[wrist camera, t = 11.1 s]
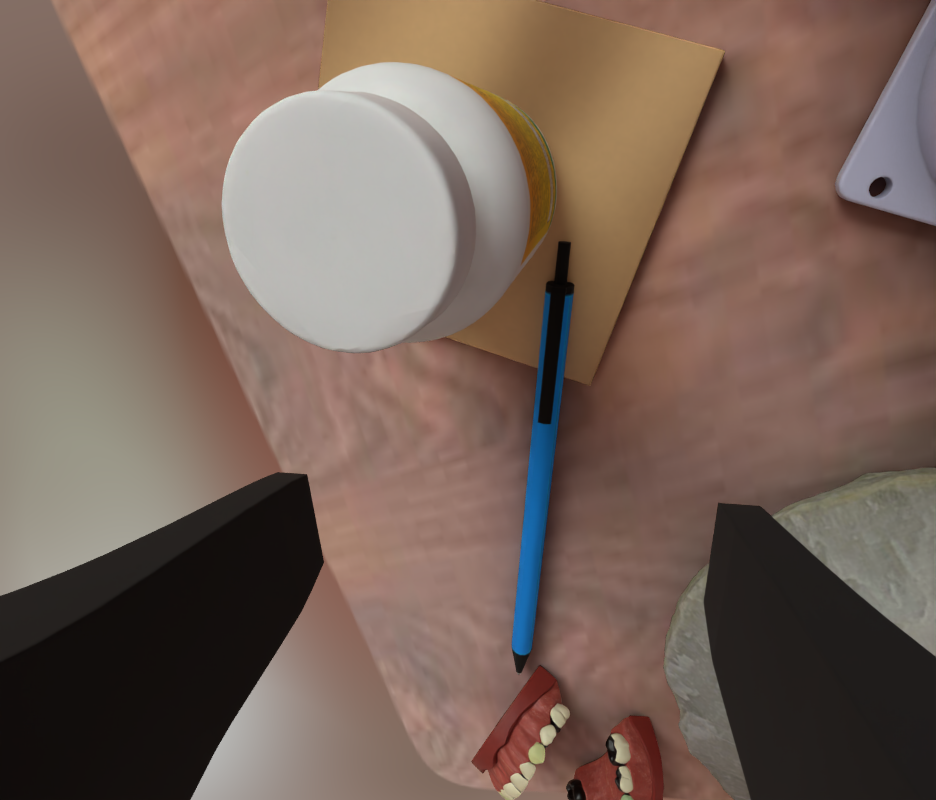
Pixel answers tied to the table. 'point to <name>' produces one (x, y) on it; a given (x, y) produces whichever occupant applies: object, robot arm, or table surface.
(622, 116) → the cork mat
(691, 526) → the table surface
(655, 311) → the table surface
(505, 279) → the supplement bottle
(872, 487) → the stone
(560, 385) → the pen
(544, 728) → the false teeth
